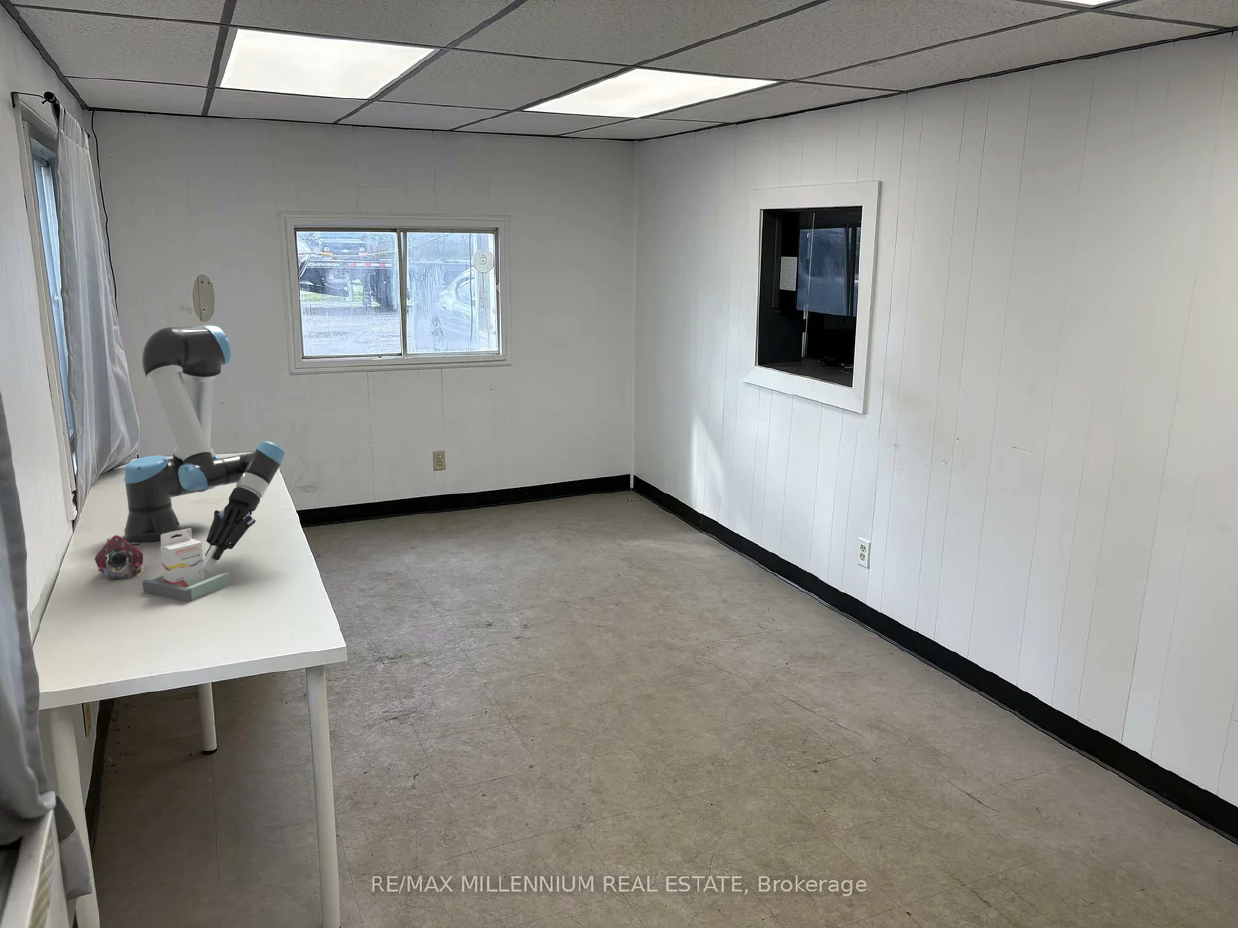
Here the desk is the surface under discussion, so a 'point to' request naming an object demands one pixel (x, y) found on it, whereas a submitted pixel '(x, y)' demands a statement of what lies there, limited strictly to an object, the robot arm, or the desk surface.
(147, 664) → the desk surface
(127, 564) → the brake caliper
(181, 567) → the ink cartridge box
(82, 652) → the desk surface
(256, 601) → the desk surface
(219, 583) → the cartridge dock
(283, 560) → the desk surface
